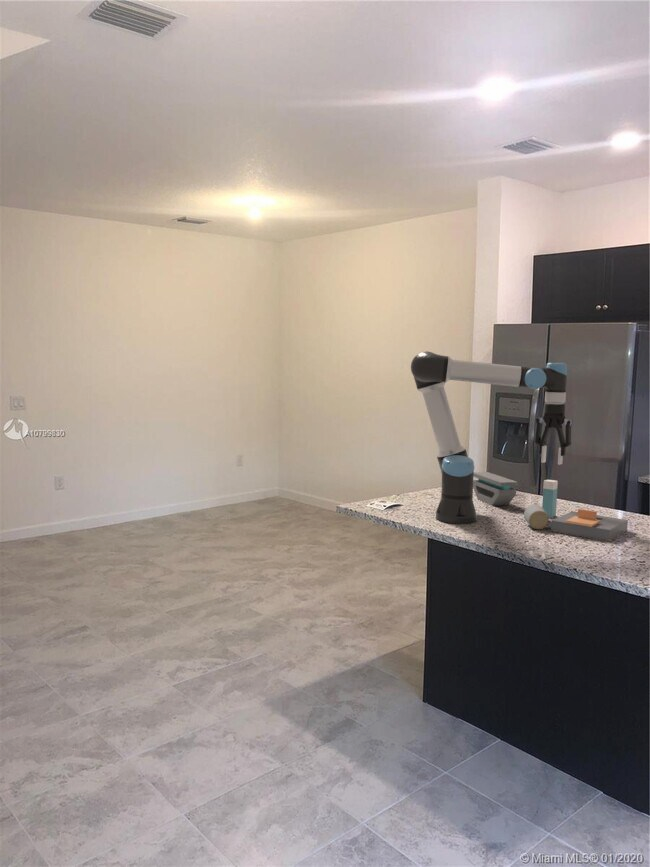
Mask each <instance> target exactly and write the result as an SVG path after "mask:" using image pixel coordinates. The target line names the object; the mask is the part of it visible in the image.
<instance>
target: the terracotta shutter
mask: <svg viewBox="0 0 650 867" xmlns="http://www.w3.org/2000/svg"><path fill="white" fill-rule="evenodd" d="M577 512H578V516H574V517H572V518H570V519H568V520H566V523H571V524H577V525H583V526H589V527H593V526H595V525H597V524H599V523H601V520H597V519H596V518H597V515H598V513H597V510H592V509H591V510H590V509H587V508H586V509H585V508H578V509H577Z"/></svg>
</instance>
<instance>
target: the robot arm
mask: <svg viewBox="0 0 650 867" xmlns="http://www.w3.org/2000/svg"><path fill="white" fill-rule="evenodd" d="M410 371H411V374H412V376H413V380H414V383H415V387H416V389H417V391H419V392H421V393H422V396H423V398H424V402H425V407H426V410H427V412H428V413H427V414H428V417H429V420H430V423H431V428H432V430H433V434H434V438H435V441H436V444H437V447H438V448H437V449H438V453H437V455H436V458H437V462H438V466H439V468H440V469H439V470H440V473H441V490H440V491H441V492H440V493H441V494H440V496H441V497H440V500H439V504H438V506H437V508H436V510H435V519H436V520H438V521H440V522H444V523H449V524H471V523H475V522H477V519H478V518H477V512H476V511H477V510H476V507H475V505H474V500H473V499H474V498H473V495H474V494H473V493H474V489H473V480H474V477H473V475H474V472H475V462H474V460H473V459H472V458H471V457H470V456H468V452H467V449H466V447H464V446H463V445H461V442H460V439H459V436H458V432H457V431H458V430H457V428H456V424H455V420H454V418H453V415H452V414H453V413H452V411H451V407H450V404H449V400H448V397H447V392H446V390H445V385H446V383H447V382H449V381H459V382H467V383H476V384H478V383H479V384H486V385H487V384H488V385H494V386H495V385H497V386H507V387H516V388H517V387H518V388H523V389H524V388H525V389H532V390H539V389H541V388H545V394H544V402H545V404H544V406H543V407H544V411H543V412H544V414H543V415H542V416H543V417H538V418H536V419H535V421H536V428H535V429H536V430H535V440H534V443H535V444H537V445H539V454H541V458H540V459H541V463H547V447H548V445H546V442H547V439H548V437H549V433H550V431H551V429H552V428H554V429H555V430H556V433H557V436H558V440H559V444H560V446H559V447H558V452H557V465H559V466H560V465H563V459H564V458H563V457H565V456H566V449H567V447H571V445H572V425H573V419H568V418H566V416H565V415H566V405H565V403H566V400H567V398H566V397H567V396H566V395H567V391H566V390H567V380H568V365H567V363H564V362H547V363H546V366H545V367H531V366H529V367H528V366H519V365H510V364H500V363H499V364H498V363H490V362H481V361H470V360H461V359H452V357H451V356H450V355H449V356H448V355H447V356H446V355H441V354H437V353H434V352H432V351H428V350H427V351H422V352H419V353H417V354H416V355H415V356H414V357H413V358H412V360H411V364H410ZM543 423H545V426H544V430H543ZM563 424H564V425H565V434H564V430H563ZM542 432H543V433H542Z"/></svg>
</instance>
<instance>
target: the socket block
mask: <svg viewBox="0 0 650 867" xmlns="http://www.w3.org/2000/svg"><path fill="white" fill-rule="evenodd" d="M574 516H578V511H573V510H572V511H570V512H567V513H564V514H563V515H561V516H558V517H555V518H554V519H551V522H552V523H551V528H550V531H551V532H552V531H553V532H554V533H557V532H558V533H557V534H563V533H564V534H563V535H570V536H574V535H576V536H575V537H580V536H581V538H586V537H587V538H588V539H591V538H594V539H593V540H597V539H600V540H599V541H603V540H607V541H606V542H608V541H609V542H611V541H612V540H611V539H613V538H614V539H616V538H617V537H616V536H618V535H619V536H621V535H622V534H621V533H623V532H624V533H626V532H627V531H628V523H629V521H628V519H625V518H617V517H611V516H605V515H598V514H597V518H596V519H597V520H601V523H599V524H597V525H595V526H593V527H589V526H583V525H577V524H571V523H566V520H568V519H570V518H572V517H574ZM626 530H627V531H626ZM625 531H626V532H625ZM553 532H552V533H553ZM624 533H623V534H624ZM620 534H621V535H620ZM619 536H618V537H619ZM615 537H616V538H615ZM587 538H586V539H587ZM614 539H613V540H614ZM610 540H611V541H610Z"/></svg>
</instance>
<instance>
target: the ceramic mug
mask: <svg viewBox="0 0 650 867" xmlns="http://www.w3.org/2000/svg"><path fill="white" fill-rule="evenodd" d="M523 518H524V520H525V522H526V523H527V524H528V525H529V526H530V527H531V528H532V529H535V530H543V529H545V528H546V527H548V528H550V529H551V523H552V520H550V518H549V517H548V515H547V513H546V512H545V511H544V509H543V508H542V506H540V505H538V504H531V505H528V506H527V507H526V508H525V510H524V512H523Z"/></svg>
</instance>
